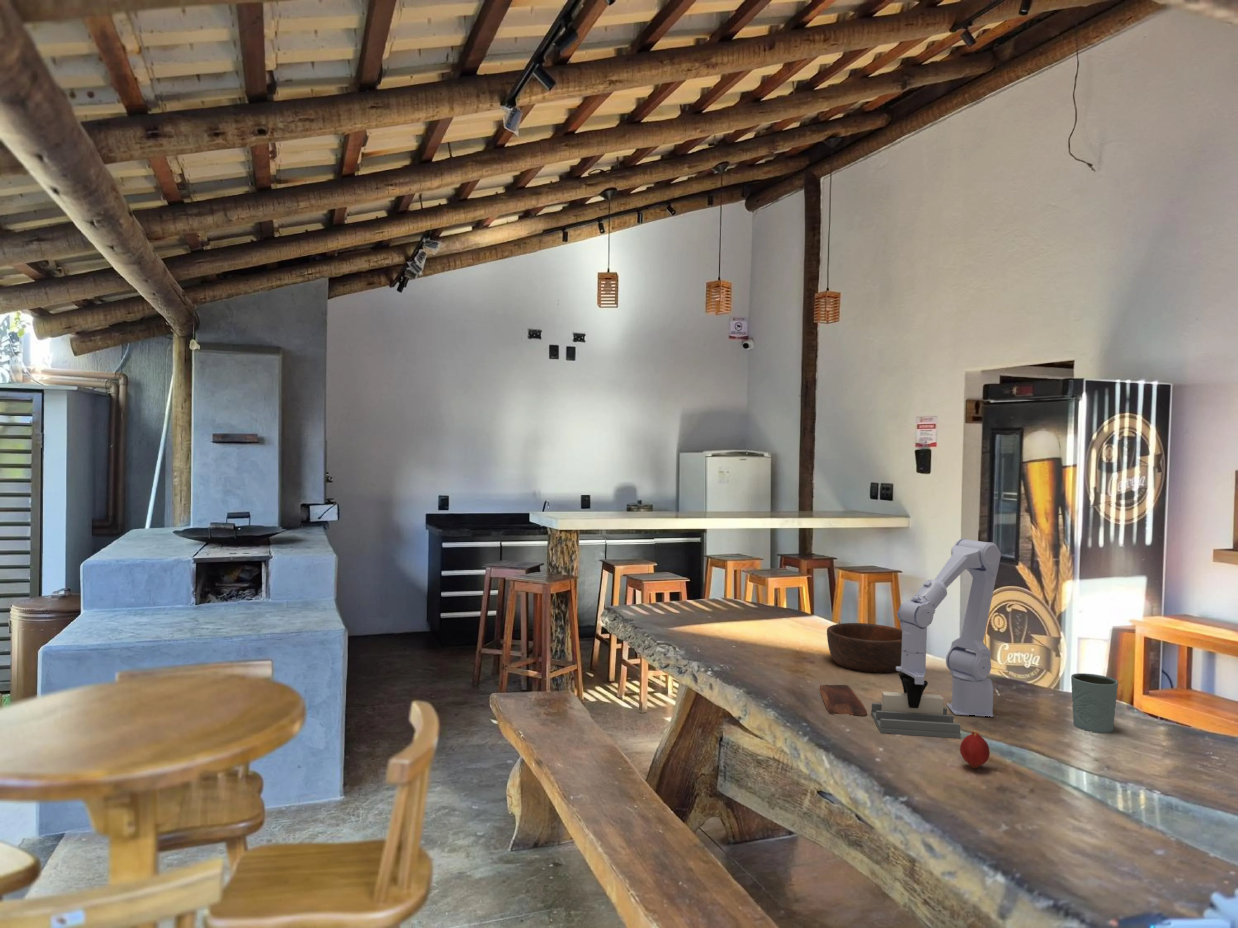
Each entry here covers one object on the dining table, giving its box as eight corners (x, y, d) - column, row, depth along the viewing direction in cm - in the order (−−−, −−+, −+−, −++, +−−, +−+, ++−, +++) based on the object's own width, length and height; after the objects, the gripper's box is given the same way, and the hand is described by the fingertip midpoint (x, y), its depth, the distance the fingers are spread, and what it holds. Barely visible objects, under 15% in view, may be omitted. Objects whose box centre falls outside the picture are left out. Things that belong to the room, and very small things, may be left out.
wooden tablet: (816, 680, 237) (852, 678, 236) (817, 688, 237) (853, 686, 236) (827, 711, 211) (868, 709, 209) (828, 719, 211) (869, 717, 209)
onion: (964, 760, 182) (965, 723, 182) (992, 767, 178) (993, 730, 178) (955, 767, 177) (957, 730, 177) (984, 775, 174) (985, 737, 174)
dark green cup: (1092, 735, 200) (1094, 685, 199) (1059, 721, 209) (1061, 673, 209) (1126, 732, 202) (1128, 682, 202) (1092, 718, 212) (1094, 671, 212)
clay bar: (939, 714, 207) (940, 694, 207) (942, 718, 204) (943, 698, 204) (881, 711, 209) (882, 691, 209) (883, 715, 206) (884, 695, 206)
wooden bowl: (825, 671, 250) (827, 637, 250) (825, 651, 274) (826, 620, 274) (914, 679, 244) (915, 644, 244) (906, 657, 269) (907, 625, 268)
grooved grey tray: (945, 718, 209) (945, 706, 209) (960, 738, 196) (961, 725, 195) (871, 713, 212) (871, 701, 212) (881, 732, 198) (881, 720, 198)
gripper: (891, 642, 214) (889, 695, 214) (903, 657, 199) (901, 713, 200) (919, 644, 213) (918, 696, 213) (933, 658, 198) (931, 715, 199)
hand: (911, 705), depth 206 cm, fingers closed on clay bar, 3 cm apart
